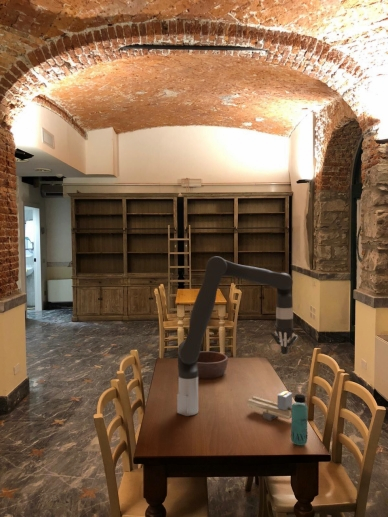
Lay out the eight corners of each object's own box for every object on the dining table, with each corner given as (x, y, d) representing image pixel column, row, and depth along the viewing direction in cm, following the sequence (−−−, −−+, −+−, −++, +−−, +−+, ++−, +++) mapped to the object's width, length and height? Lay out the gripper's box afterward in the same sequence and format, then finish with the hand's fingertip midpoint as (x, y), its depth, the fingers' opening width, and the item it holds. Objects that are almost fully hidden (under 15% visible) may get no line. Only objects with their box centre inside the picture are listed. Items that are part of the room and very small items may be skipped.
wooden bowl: (179, 377, 244) (179, 360, 243) (195, 365, 267) (195, 349, 266) (219, 383, 234) (219, 365, 233) (233, 370, 257) (233, 353, 256)
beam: (288, 426, 181) (288, 412, 181) (246, 413, 195) (246, 400, 194) (295, 421, 187) (295, 407, 186) (254, 408, 200) (254, 395, 200)
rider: (285, 414, 182) (285, 396, 182) (277, 412, 185) (277, 394, 184) (291, 410, 187) (292, 392, 187) (283, 407, 190) (283, 390, 189)
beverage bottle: (287, 444, 166) (287, 395, 165) (296, 439, 170) (297, 391, 169) (301, 450, 161) (302, 400, 160) (310, 444, 166) (311, 395, 165)
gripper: (267, 316, 193) (268, 353, 194) (294, 319, 185) (294, 358, 186) (275, 314, 199) (275, 349, 200) (301, 317, 190) (301, 354, 192)
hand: (284, 353), depth 193 cm, fingers closed
